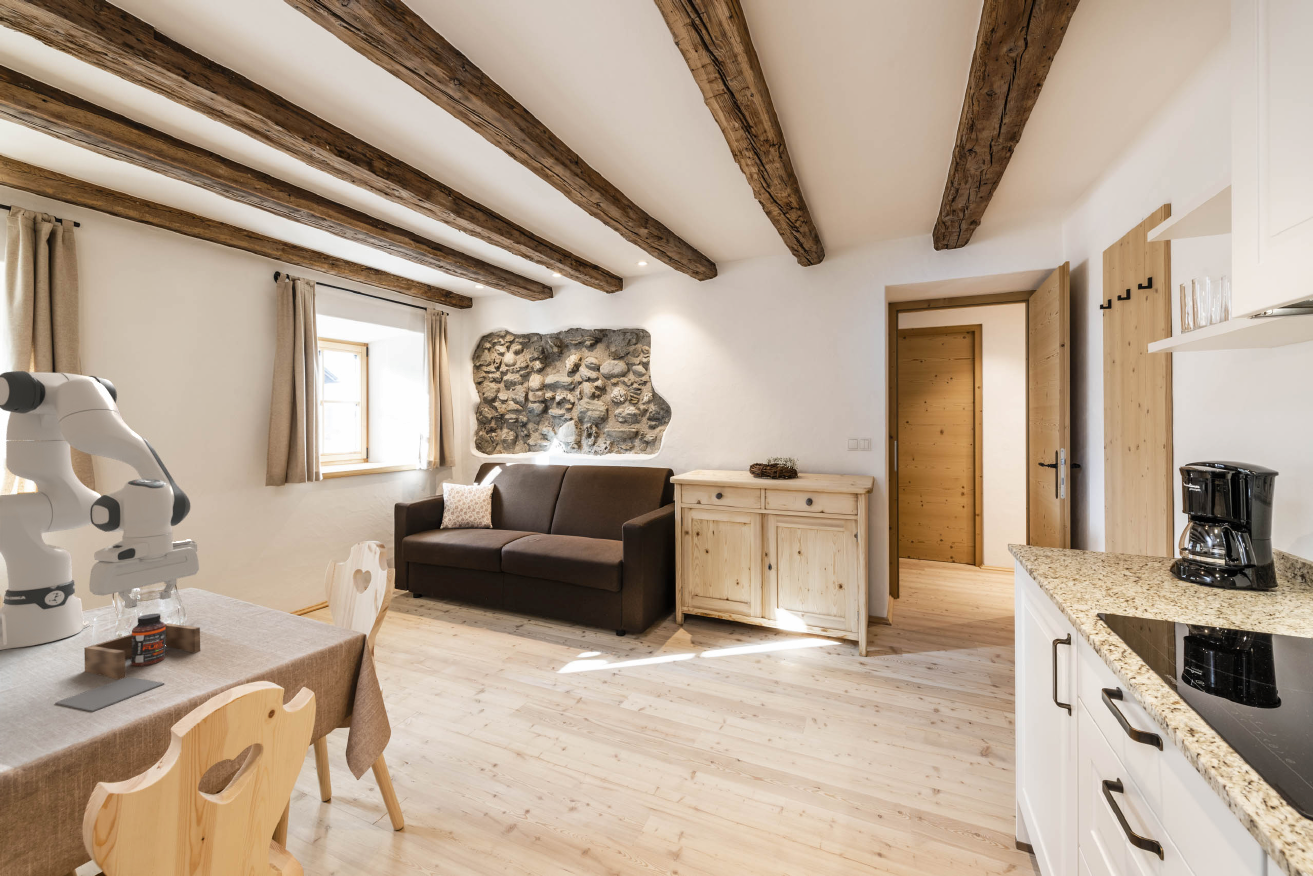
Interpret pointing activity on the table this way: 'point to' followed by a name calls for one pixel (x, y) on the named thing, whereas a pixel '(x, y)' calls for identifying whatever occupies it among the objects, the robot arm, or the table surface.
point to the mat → (109, 694)
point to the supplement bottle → (148, 640)
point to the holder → (114, 652)
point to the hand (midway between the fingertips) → (148, 603)
